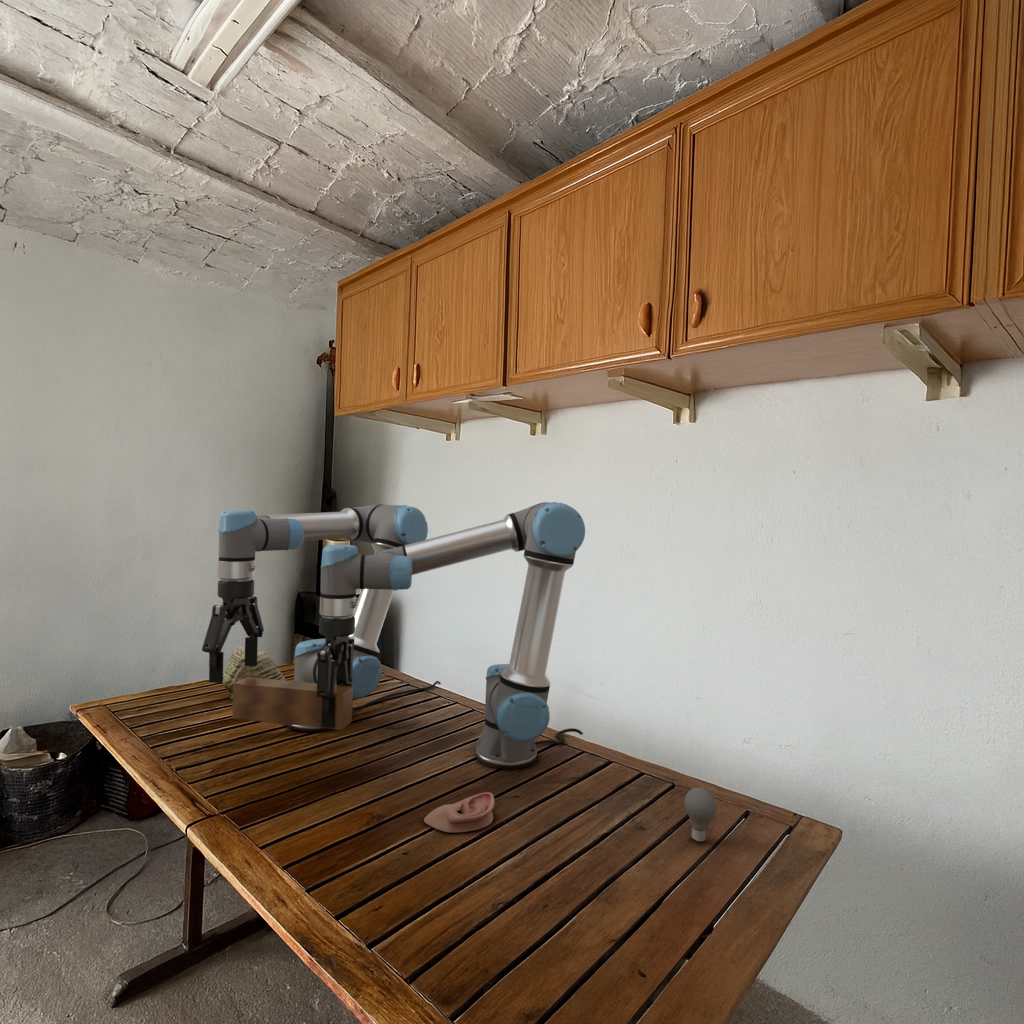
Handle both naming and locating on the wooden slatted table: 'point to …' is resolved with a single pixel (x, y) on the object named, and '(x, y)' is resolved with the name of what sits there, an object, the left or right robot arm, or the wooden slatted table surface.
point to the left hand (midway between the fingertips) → (234, 673)
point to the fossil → (249, 668)
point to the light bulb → (700, 811)
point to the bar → (288, 702)
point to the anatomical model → (463, 814)
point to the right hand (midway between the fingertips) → (334, 721)
